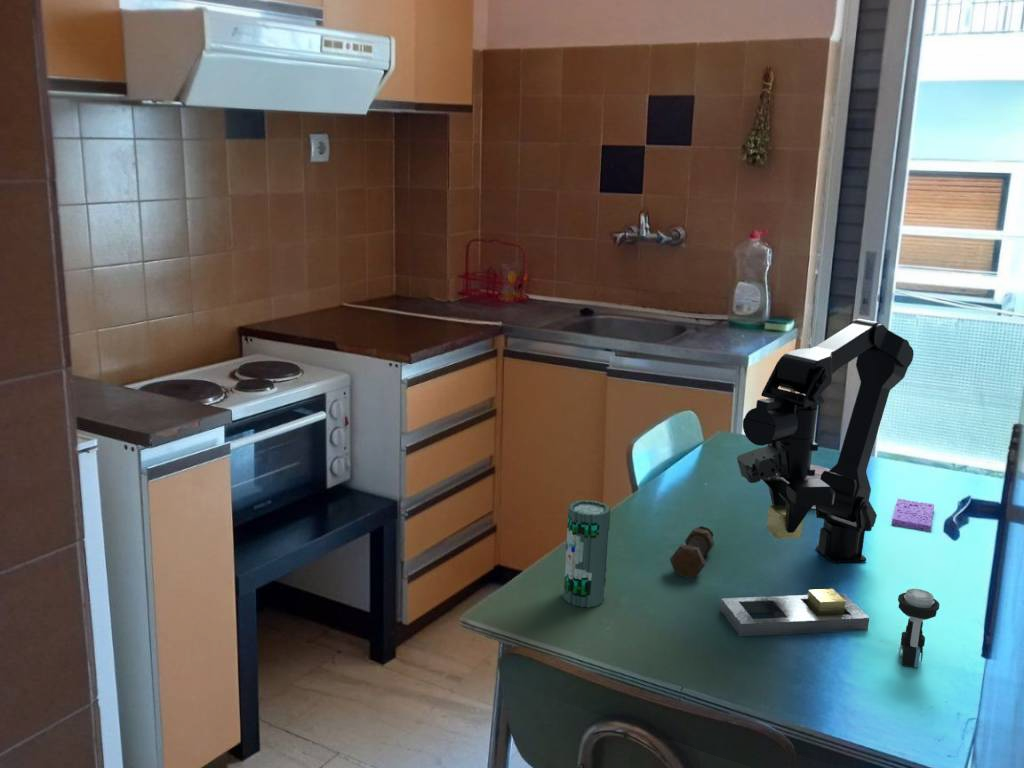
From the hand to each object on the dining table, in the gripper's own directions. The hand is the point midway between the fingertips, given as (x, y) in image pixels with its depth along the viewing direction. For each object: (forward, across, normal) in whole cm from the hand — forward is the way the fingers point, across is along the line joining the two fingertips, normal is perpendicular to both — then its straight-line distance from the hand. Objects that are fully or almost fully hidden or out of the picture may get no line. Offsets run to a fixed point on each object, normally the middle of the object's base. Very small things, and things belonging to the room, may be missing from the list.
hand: (784, 527), depth 158 cm
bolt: (+10, -11, -10) cm, 18 cm away
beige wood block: (+1, 0, 0) cm, 1 cm away
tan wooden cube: (+10, +12, +2) cm, 16 cm away
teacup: (+10, -37, +23) cm, 45 cm away
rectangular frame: (+10, +12, -3) cm, 16 cm away
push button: (+10, +24, +9) cm, 28 cm away
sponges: (+11, -26, +40) cm, 48 cm away
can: (+10, +2, -33) cm, 34 cm away
